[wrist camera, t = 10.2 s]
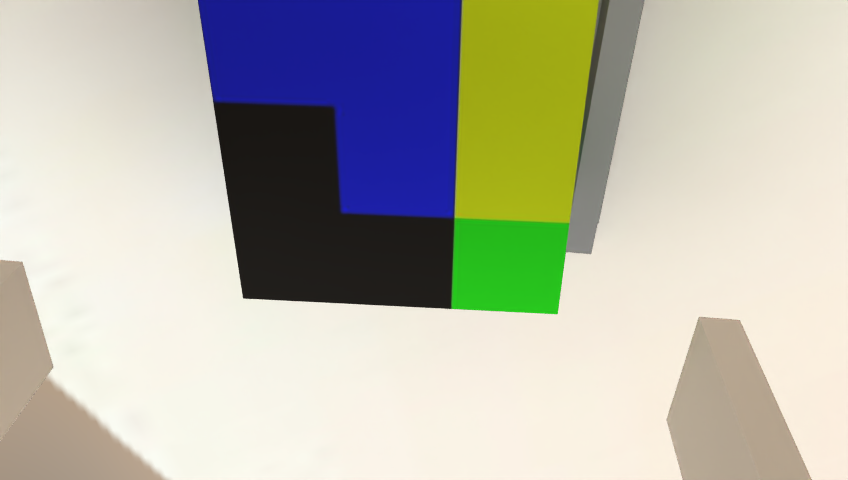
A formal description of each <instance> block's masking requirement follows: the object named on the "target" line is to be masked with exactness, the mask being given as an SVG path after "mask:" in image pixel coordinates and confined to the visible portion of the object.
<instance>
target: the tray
mask: <svg viewBox="0 0 848 480" xmlns="http://www.w3.org/2000/svg"><path fill="white" fill-rule="evenodd" d="M643 4H644V0H599V3H598V11H597V18H596V26H595V34H594V41H593V49H592V56H591V64H590V72H589V79H588V87H587V94H586V102H585V109H584V117H583V125H582V132H581V140H580V147H579V155H578V163H577V170H576V178H575V185H574V193H573V201H572V208H571V216H570V223H569V231H568V239H567V246H566V252H574V253H586V254H591V252H592V247H593V242H594V238H595V233H596V228H597V223H599V218H600V213H601V208H602V203H603V198H604V193H605V189H606V184H607V179H608V174H609V169H610V164H611V159H612V155H613V150H614V145H615V140H616V135H617V130H618V126H619V121H620V116H621V111H622V106H623V101H624V96H625V92H626V87H627V82H628V77H629V72H630V67H631V62H632V58H633V53H634V48H635V43H636V38H637V33H638V28H639V24H640V19H641V14H642V9H643Z"/></svg>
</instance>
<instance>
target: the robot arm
mask: <svg viewBox="0 0 848 480" xmlns="http://www.w3.org/2000/svg"><path fill="white" fill-rule="evenodd" d="M52 368H53V364H52V361H51V357H50V354H49V350H48V347H47V344H46V340H45V337H44V333H43V330H42V327H41V323H40V320H39V316H38V313H37V310H36V306H35V303H34V300H33V296H32V293H31V289H30V286H29V283H28V279H27V276H26V272H25V269H24V266H23V262H18V261H5V260H0V441H1V440H2V438H3V437H4V436H5V434H6V433H7V431H8V430H9V429H10V427H11V426H12V424H13V423H14V422H15V420H16V419H17V417H18V416H19V414H20V413H21V412H22V410H23V409H24V408H25V406H26V405H27V403H28V402H29V401H30V399H31V398H32V396H33V395H34V394H35V392H36V391H37V389H38V388H39V387H40V385H41V384H42V382H43V381H44V380H45V378H46V377H47V375H48V374H49V373H50V371H51V370H52ZM667 423H668V427H669V431H670V434H671V438H672V442H673V445H674V449H675V453H676V456H677V460H678V464H679V467H680V471H681V475H682V478H683V480H812V479H811V477H810V475H809V473H808V470H807V468H806V466H805V464H804V462H803V459H802V457H801V455H800V453H799V450H798V448H797V446H796V444H795V442H794V439H793V437H792V435H791V433H790V430H789V428H788V426H787V424H786V422H785V419H784V417H783V415H782V413H781V410H780V408H779V406H778V404H777V402H776V399H775V397H774V395H773V393H772V391H771V388H770V386H769V384H768V382H767V379H766V377H765V375H764V373H763V371H762V368H761V366H760V364H759V362H758V359H757V357H756V355H755V353H754V351H753V348H752V346H751V344H750V342H749V339H748V337H747V335H746V333H745V331H744V328H743V326H742V324H741V322H740V320H732V319H720V318H707V317H699V318H698V322H697V325H696V328H695V331H694V334H693V337H692V341H691V344H690V347H689V350H688V353H687V356H686V360H685V363H684V366H683V369H682V372H681V375H680V379H679V382H678V385H677V388H676V391H675V395H674V398H673V401H672V404H671V407H670V410H669V414H668V417H667Z"/></svg>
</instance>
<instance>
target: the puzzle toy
mask: <svg viewBox="0 0 848 480" xmlns="http://www.w3.org/2000/svg"><path fill="white" fill-rule="evenodd" d="M598 3H599V0H198V4H199V11H200V18H201V24H202V31H203V37H204V44H205V50H206V57H207V64H208V70H209V77H210V83H211V90H212V97H213V103H214V110H215V116H216V123H217V129H218V136H219V143H220V149H221V156H222V162H223V169H224V176H225V182H226V189H227V195H228V202H229V208H230V215H231V222H232V228H233V235H234V241H235V248H236V255H237V261H238V268H239V274H240V281H241V287H242V294H243V298H246V299H266V300H286V301H306V302H326V303H345V304H365V305H385V306H405V307H425V308H445V309H465V310H485V311H505V312H525V313H545V314H558V307H559V299H560V292H561V284H562V277H563V269H564V261H565V254H566V246H567V239H568V231H569V223H570V216H571V208H572V201H573V193H574V185H575V178H576V170H577V163H578V155H579V147H580V140H581V132H582V125H583V117H584V109H585V102H586V94H587V87H588V79H589V72H590V64H591V56H592V49H593V41H594V34H595V26H596V18H597V11H598Z"/></svg>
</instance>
